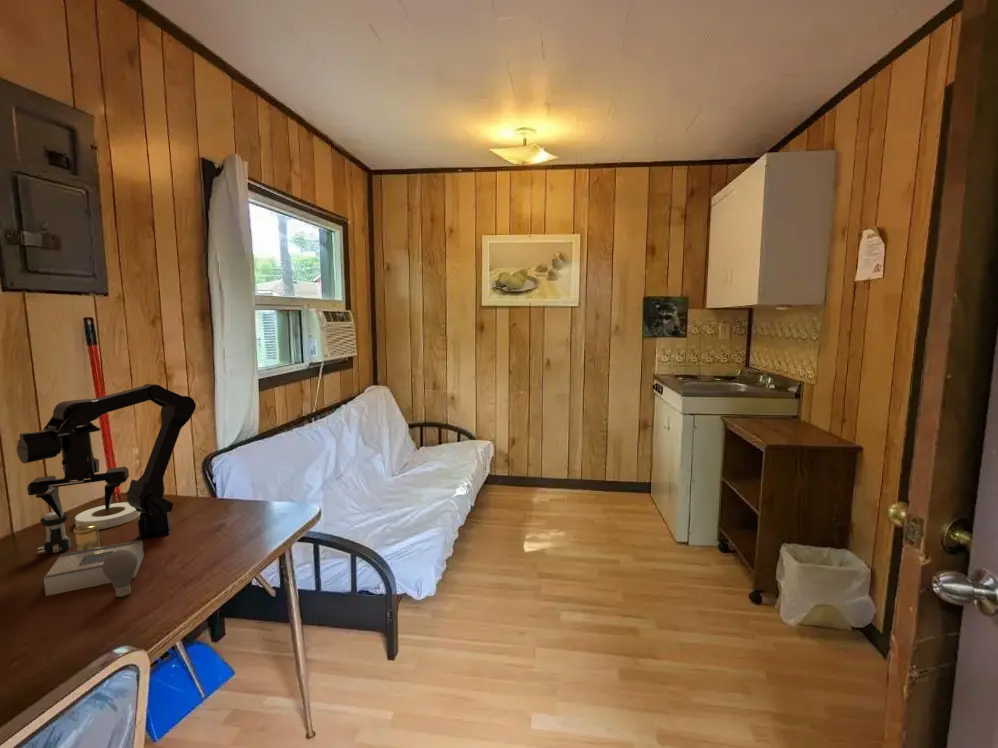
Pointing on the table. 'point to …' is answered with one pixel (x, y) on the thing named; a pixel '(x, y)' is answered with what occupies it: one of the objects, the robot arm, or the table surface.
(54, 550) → the push button
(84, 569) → the jig
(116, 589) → the light bulb
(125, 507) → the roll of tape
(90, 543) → the door knob
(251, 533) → the table surface
